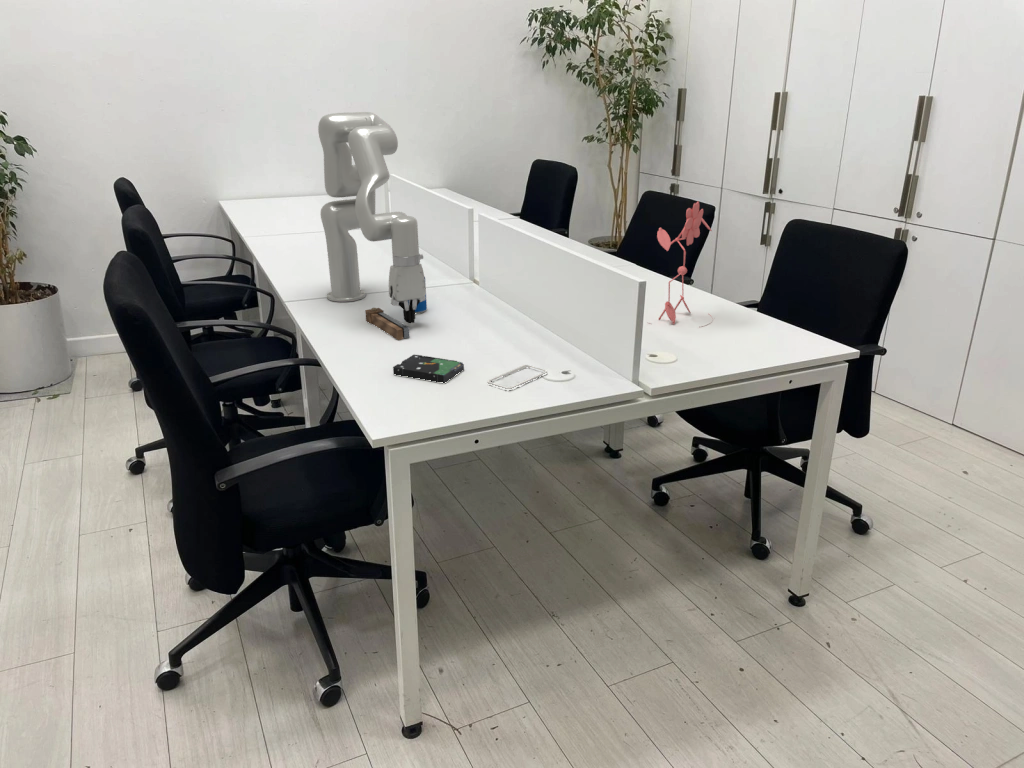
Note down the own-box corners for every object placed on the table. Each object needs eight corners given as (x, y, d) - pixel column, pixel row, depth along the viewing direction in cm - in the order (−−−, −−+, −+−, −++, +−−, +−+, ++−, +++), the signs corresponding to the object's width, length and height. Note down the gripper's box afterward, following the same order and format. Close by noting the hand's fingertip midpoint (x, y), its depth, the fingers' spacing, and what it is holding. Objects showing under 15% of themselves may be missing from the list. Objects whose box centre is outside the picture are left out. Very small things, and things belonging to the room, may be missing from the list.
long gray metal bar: (378, 322, 231) (377, 312, 230) (383, 321, 232) (382, 312, 231) (404, 338, 218) (403, 328, 217) (409, 337, 218) (408, 327, 217)
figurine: (642, 326, 227) (652, 205, 213) (681, 306, 246) (693, 194, 232) (690, 337, 218) (704, 212, 205) (727, 315, 237) (742, 200, 224)
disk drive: (393, 377, 193) (445, 385, 187) (392, 367, 191) (444, 374, 186) (414, 364, 201) (464, 371, 196) (413, 353, 200) (464, 360, 195)
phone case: (509, 393, 182) (548, 375, 192) (509, 388, 182) (548, 370, 192) (486, 386, 186) (525, 368, 197) (485, 381, 186) (525, 363, 196)
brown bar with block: (366, 321, 233) (365, 308, 232) (379, 318, 235) (378, 305, 234) (396, 340, 217) (395, 326, 215) (410, 337, 219) (410, 323, 217)
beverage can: (402, 312, 241) (399, 275, 237) (413, 307, 246) (411, 270, 242) (419, 315, 238) (417, 277, 234) (430, 310, 244) (429, 272, 239)
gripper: (423, 254, 227) (426, 314, 234) (376, 261, 220) (381, 323, 227) (435, 259, 221) (438, 321, 228) (387, 266, 214) (391, 329, 221)
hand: (409, 322), depth 227 cm, fingers closed
